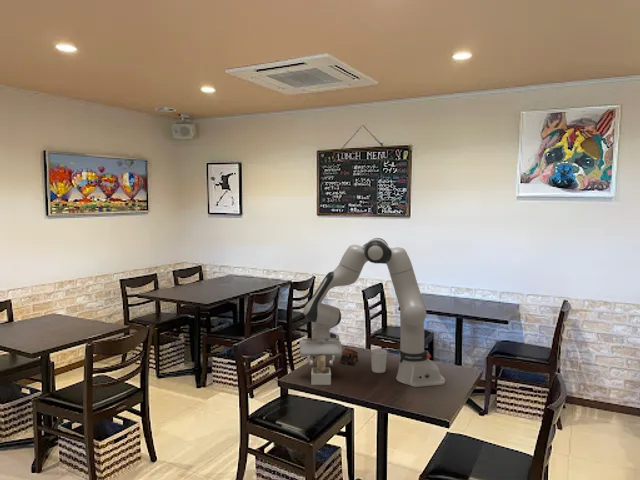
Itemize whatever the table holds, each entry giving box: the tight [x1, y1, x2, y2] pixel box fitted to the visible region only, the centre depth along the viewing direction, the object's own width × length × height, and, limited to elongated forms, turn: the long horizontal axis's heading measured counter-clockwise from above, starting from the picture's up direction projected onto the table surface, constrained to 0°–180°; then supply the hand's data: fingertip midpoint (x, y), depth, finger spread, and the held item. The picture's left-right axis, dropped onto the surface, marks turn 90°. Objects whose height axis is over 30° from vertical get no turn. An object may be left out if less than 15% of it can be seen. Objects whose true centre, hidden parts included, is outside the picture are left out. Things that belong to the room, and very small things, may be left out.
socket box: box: [310, 367, 332, 386], centre depth 223 cm, size 9×9×5 cm
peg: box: [316, 355, 327, 374], centre depth 222 cm, size 4×4×12 cm
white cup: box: [370, 348, 388, 374], centre depth 237 cm, size 8×8×10 cm
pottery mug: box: [339, 347, 359, 365], centre depth 249 cm, size 12×10×8 cm
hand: (321, 364), depth 222 cm, fingers open, 8 cm apart
